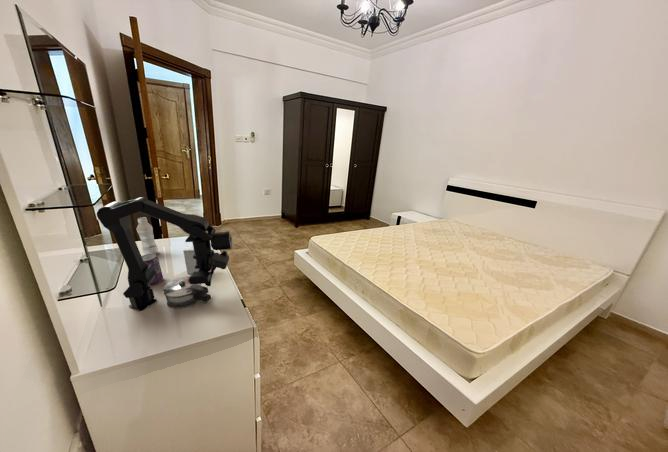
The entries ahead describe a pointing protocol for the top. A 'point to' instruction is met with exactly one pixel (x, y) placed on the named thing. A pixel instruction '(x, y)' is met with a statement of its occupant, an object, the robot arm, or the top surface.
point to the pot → (186, 300)
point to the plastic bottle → (146, 236)
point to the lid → (183, 288)
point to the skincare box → (190, 259)
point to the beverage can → (154, 261)
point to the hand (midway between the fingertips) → (209, 285)
